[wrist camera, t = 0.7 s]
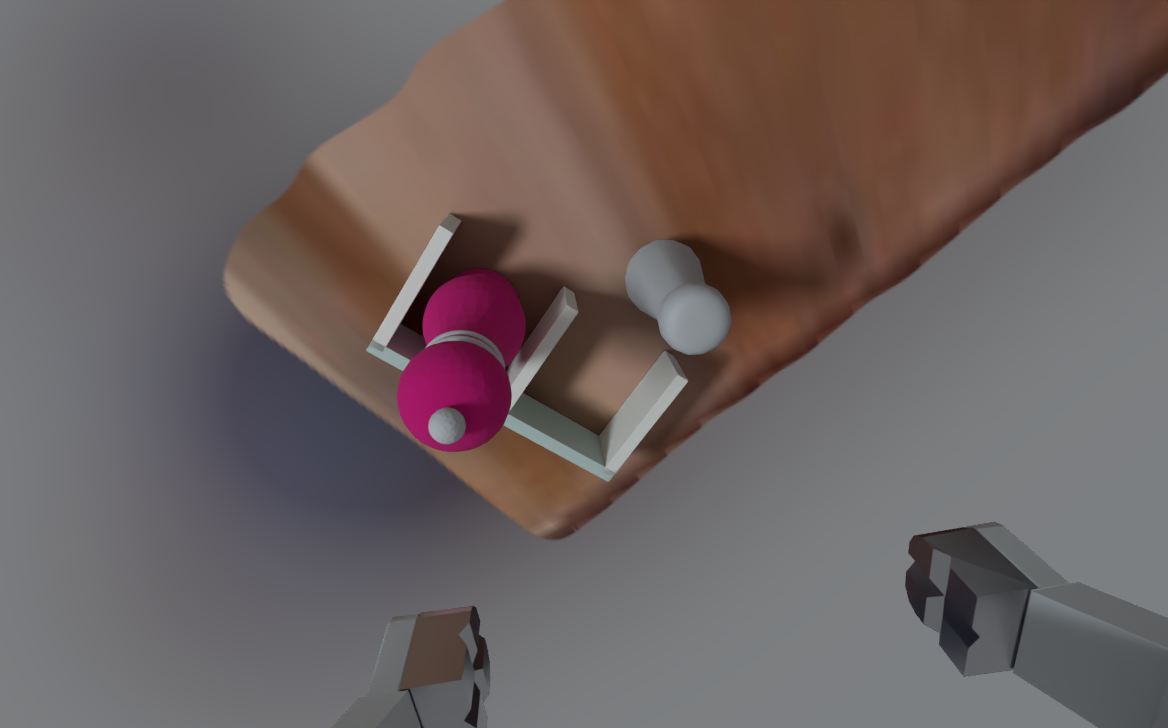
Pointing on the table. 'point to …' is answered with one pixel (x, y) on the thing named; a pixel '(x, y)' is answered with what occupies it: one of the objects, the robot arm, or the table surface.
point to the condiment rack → (526, 412)
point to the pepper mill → (463, 363)
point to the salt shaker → (678, 296)
